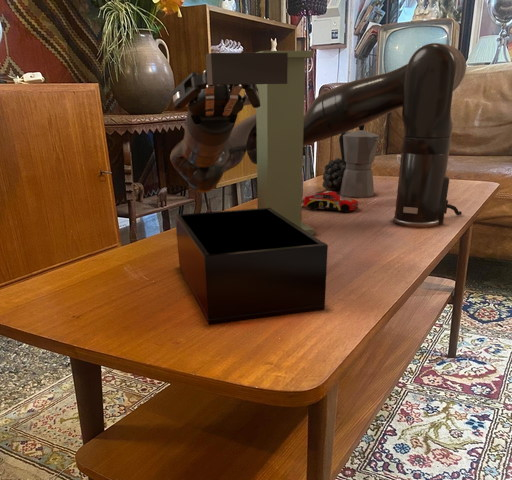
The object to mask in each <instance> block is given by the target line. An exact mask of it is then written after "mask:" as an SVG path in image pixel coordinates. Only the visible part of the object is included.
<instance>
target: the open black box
mask: <svg viewBox="0 0 512 480" xmlns="http://www.w3.org/2000/svg"><path fill="white" fill-rule="evenodd" d="M174 218H175V227H176V240H177V241H176V242H177V252H178V253H177V254H178V265H179V270H180V272H181V274H182V276H183V277H184V280H185V281H186V283H187V285H188V288H189V289H190V292H191V293H192V295H193V297H194V299H195V301H196V303H197V305H198V307H199V309H200V311H201V313H202V315H203V317H204V319H205V321H206V323H207V324H208V326H213V325H221V324H228V323H235V322H244V321H250V320H251V321H252V320H259V319H267V318H275V317H282V316H290V315H296V314H305V313H312V312H321V311H325V307H326V290H327V269H328V268H327V267H328V251H329V250H328V248H329V245H328V244H327V243H325V242H323V241H322V240H321V239H320V238H317V237H316V236H314V235H311V234H310V233H308V232H307V231H305V230H304V229H302V228H300V227H299V226H297V225H296V224H294V223H293V222H291V221H290V220H288V219H287V218H285V217H284V216H282V215H280V214H279V213H277V212H276V211H274V210H273V209H271V208H259V209H258V208H246V209H235V210H233V209H232V210H219V211H207V212H192V213H183V214H175V215H174Z"/></svg>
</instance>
